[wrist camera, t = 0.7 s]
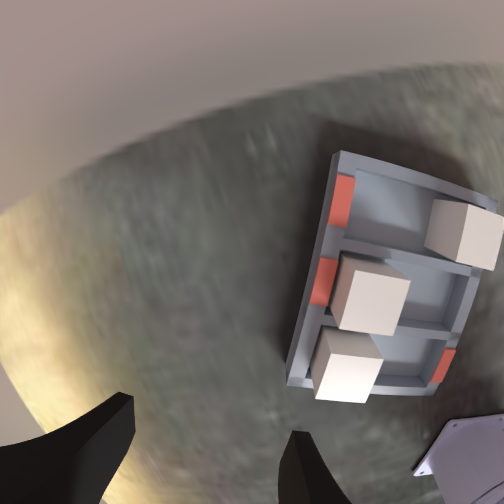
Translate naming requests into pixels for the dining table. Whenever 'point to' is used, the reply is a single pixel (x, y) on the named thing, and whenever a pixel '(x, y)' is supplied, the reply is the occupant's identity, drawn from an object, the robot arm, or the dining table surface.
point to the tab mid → (367, 295)
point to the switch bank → (399, 257)
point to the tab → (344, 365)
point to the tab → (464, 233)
